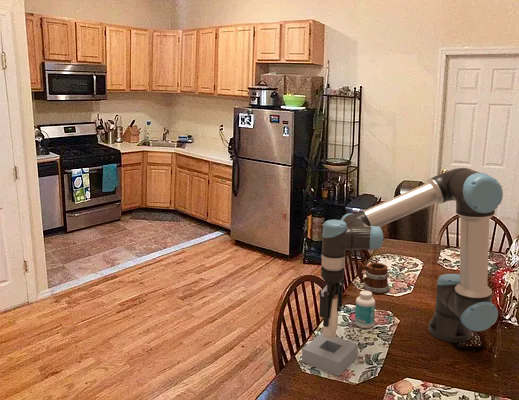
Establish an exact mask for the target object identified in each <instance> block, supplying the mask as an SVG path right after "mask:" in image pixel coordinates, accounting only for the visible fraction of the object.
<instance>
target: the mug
mask: <svg viewBox="0 0 519 400" xmlns="http://www.w3.org/2000/svg"><path fill="white" fill-rule="evenodd" d="M357 265H358V268H357V276H358V278H359V279H358V280H359V284H361V285H363V287H364V291H370V292H372V295H385V294H388V292H389V290H390V284H389V282H388V279H389V277H390V272H389V271H388V265H387V264H385V263H381V262H371V263H368V265H365V264H363V262H361V261H359V260H358V262H357ZM364 271H365V272H364ZM363 272H364V273H363ZM364 274H365V275H364ZM364 276H366V277H364Z"/></svg>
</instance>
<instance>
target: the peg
mask: <svg viewBox="0 0 519 400" xmlns="http://www.w3.org/2000/svg"><path fill="white" fill-rule="evenodd" d="M337 299H338V295H337V294H335V296H334V298H333V300H332V308H331V315H330V317H332V321H331V335H330V336H329V335H326V334H324V336H325V337H326V338H335V337H337V330H336V321H337Z"/></svg>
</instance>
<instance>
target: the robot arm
mask: <svg viewBox="0 0 519 400" xmlns="http://www.w3.org/2000/svg"><path fill="white" fill-rule="evenodd" d="M503 197H504V191H503V188H502V186H501V184H500V182H499V181H498V180H497V179H496V178H494V177H493V176H491V175H489V174H487V173H484V172H479V171H476V170H473V169H472V168H466V167H459V168H454V169H450V170H447V171H444V172H441V173H440V174H437V175H435V176H433V177H431V178H428V180H427V182H426V183H424V184H422V185H420V186H417V187H414V188H413V189H410V190H408V191H406V192H404V193H401V194H399V195H397V196H394V197H392V198H390V199H388V200H385V201H382V202H380V203H378V204H376V205H374V206H371V207H369V208H368V209H367V208H366V209H365V210H362V211H360V212H358V213H351V212H350V213H345V214H344V215H342V217H341V218H340V219H328V220H326V221H324V223H323V225H322V226H323V227H322V234H321V236H322V237H321V238H322V239H321V240H322V243H321V245H322V246H321V271H320V277H321V279H322V280H323V281H324V282H323V289H319V290H318V295H319V317H320V318H322V321H323V322H322V332H323V334H326V335H329V336H330V335H331V321H332V317H330V315H331V308H332V300H333V298H334V296H335V294H337V295H338V299H337V321H336V331H337V330H338V327H339V324H338V322H339V312H340V313H341V312H342V309H341V308H342V307H343V297H344V296H343V295H344V284H345V279H344V278H345V267H346V266H345V264H346V251H353V250H354V251H355V250H356V251H357V250H358V251H359V250H360V251H362V250H363V251H364V250H365V251H366V250H367V251H371V250H378V249H380V248H382V246H383V245H384V233H383V229H382V228H381V227H383V226H386V225H387V224H389V223H392V222H394V221H397V220H399V219H401V218H404V217H406V216H408V215H410V214H413V213H416V212H418V211H420V210H422V209H425V208H427V207H430V206H432V205H435V204H436V203H438V204H444V203H446V202H451V201H455V214H456V215H457V216H459V218H460V237H459V238H460V240H459V241H460V242H459V243H460V244H459V245H460V246H459V251H460V252H459V273H444V274H441V275H439V277H438V279H437V282H436V283H437V284H436V297H435V306H434V313H433V315H432V317H431V318H430V321H429V322H428V323H429V324H428V332H429V333H430V335H431V336H433V337H435V338H436V339H438V340H441V341H444V342H446V343H447V342H448V343H452V344H455V343H456V344H457V342H462V343H465V342H464V341H466V342H468V341H470V340H469V339H471V338H472V332H483V331H486V330H488V329H490V328H491V326H493V325H494V324H496V322H497V320H498V316H499V311H498V308H497V307H496V305H495V303H493V301H492V300H493V290H492V288H490V286H488V275H489V273H488V272H489V270H488V269H489V267H488V266H489V242H490V241H489V239H490V238H489V237H490V219H491V218H492V217H494V216H495V213H496V210H497V208H498V206H499V205H501V203H502V202H503V201H502V200H503ZM467 340H468V341H467Z"/></svg>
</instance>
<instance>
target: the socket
mask: <svg viewBox="0 0 519 400" xmlns="http://www.w3.org/2000/svg"><path fill="white" fill-rule="evenodd" d="M358 350H359V344H358V343H356V342H353V341H350V340H348V339H344V338H341V337H338V336H336V337H335V338H326V337H325V336H324V334H323V331H322V332H321V333H320V334H318V335H317V336H316V337H315V338H314V339H312V340H311V341H310V342H309V343H308V344H307V345H305V346H304V347H303V348H302V349H301V362H302V363H303V364H307V365H309V366H312V367H313V368H317V369H319V370H322V371H324V372H326V373H329V374H332V375H335V376H336V377H340V376H341V374H343V373H344V371H346V369H347V368H348V367H349V366H350V365H351V364H353V362H354V361H355V360H356V359H357V358H358V355H359V354H358V353H359V351H358Z"/></svg>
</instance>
